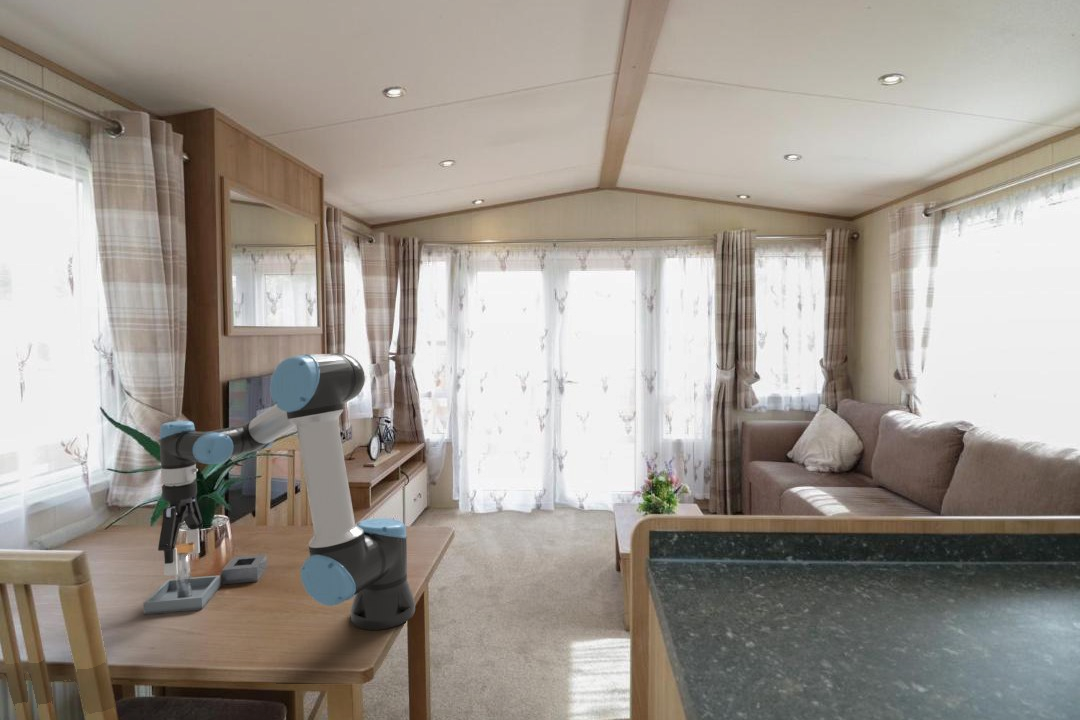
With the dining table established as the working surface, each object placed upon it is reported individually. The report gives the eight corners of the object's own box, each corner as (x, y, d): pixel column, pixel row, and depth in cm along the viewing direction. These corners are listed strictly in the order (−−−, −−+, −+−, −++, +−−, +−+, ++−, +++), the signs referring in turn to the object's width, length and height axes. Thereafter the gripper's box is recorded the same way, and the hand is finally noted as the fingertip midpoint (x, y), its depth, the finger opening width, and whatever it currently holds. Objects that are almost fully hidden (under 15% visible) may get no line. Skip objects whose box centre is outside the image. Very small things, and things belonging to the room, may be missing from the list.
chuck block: (257, 581, 156) (257, 567, 156) (222, 584, 154) (221, 570, 154) (266, 567, 165) (266, 554, 165) (233, 570, 163) (232, 557, 163)
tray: (202, 609, 141) (201, 597, 141) (144, 614, 138) (143, 602, 138) (221, 585, 153) (220, 575, 153) (168, 590, 151) (167, 579, 151)
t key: (169, 602, 143) (164, 549, 142) (173, 596, 146) (168, 545, 145) (196, 597, 145) (191, 545, 144) (199, 592, 148) (194, 541, 147)
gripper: (174, 495, 133) (178, 583, 134) (213, 469, 157) (216, 544, 158) (138, 497, 131) (142, 586, 132) (183, 470, 156) (187, 546, 157)
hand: (183, 563), depth 145 cm, fingers open, 13 cm apart
